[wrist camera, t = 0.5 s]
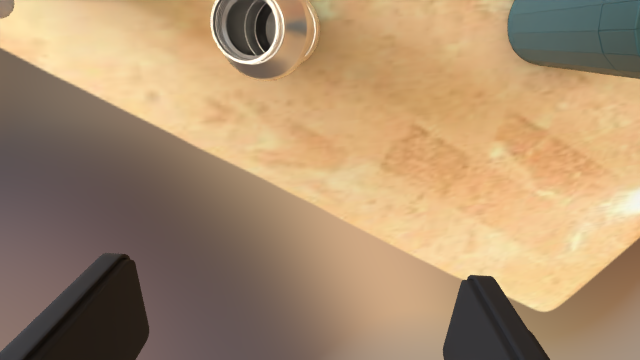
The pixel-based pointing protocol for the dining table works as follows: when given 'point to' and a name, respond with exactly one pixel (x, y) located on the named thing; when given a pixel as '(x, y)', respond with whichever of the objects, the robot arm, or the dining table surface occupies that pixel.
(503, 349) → the robot arm
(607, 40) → the teal hollow cylinder
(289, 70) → the metal bottle
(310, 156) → the dining table surface
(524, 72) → the dining table surface
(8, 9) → the flower vase
